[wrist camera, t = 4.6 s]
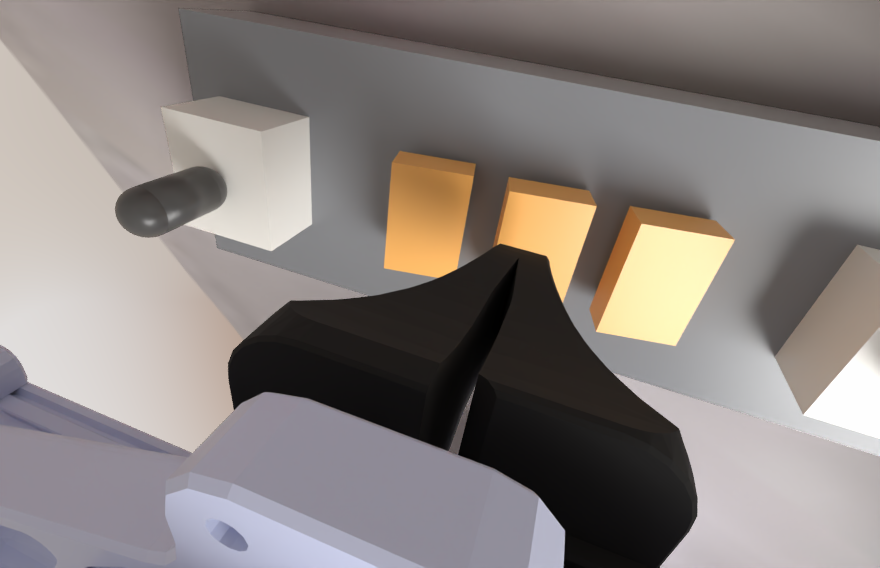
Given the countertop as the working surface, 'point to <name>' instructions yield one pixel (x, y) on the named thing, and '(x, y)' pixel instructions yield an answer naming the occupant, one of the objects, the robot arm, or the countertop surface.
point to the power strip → (565, 183)
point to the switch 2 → (658, 274)
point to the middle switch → (546, 224)
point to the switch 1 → (427, 213)
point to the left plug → (228, 175)
